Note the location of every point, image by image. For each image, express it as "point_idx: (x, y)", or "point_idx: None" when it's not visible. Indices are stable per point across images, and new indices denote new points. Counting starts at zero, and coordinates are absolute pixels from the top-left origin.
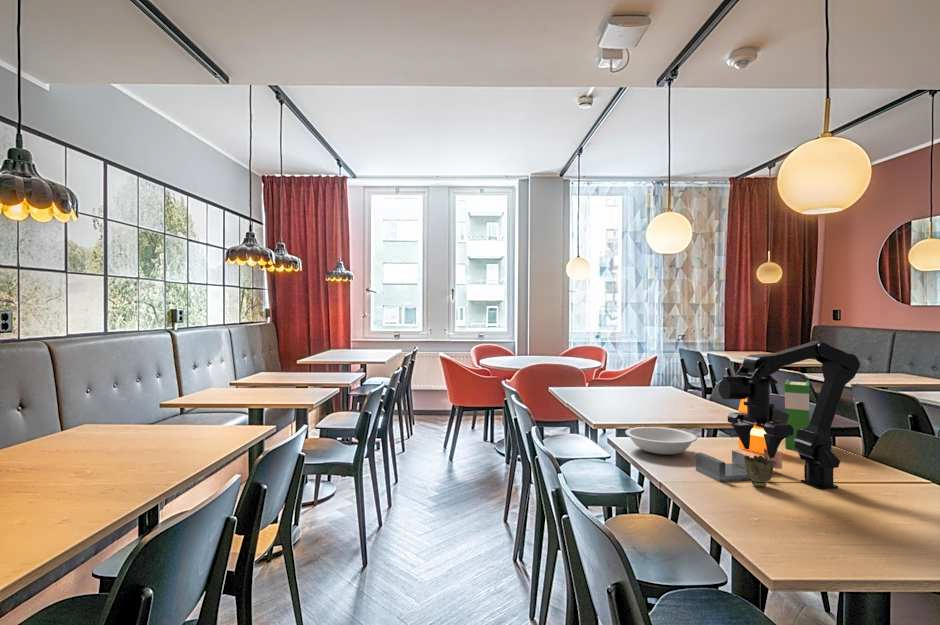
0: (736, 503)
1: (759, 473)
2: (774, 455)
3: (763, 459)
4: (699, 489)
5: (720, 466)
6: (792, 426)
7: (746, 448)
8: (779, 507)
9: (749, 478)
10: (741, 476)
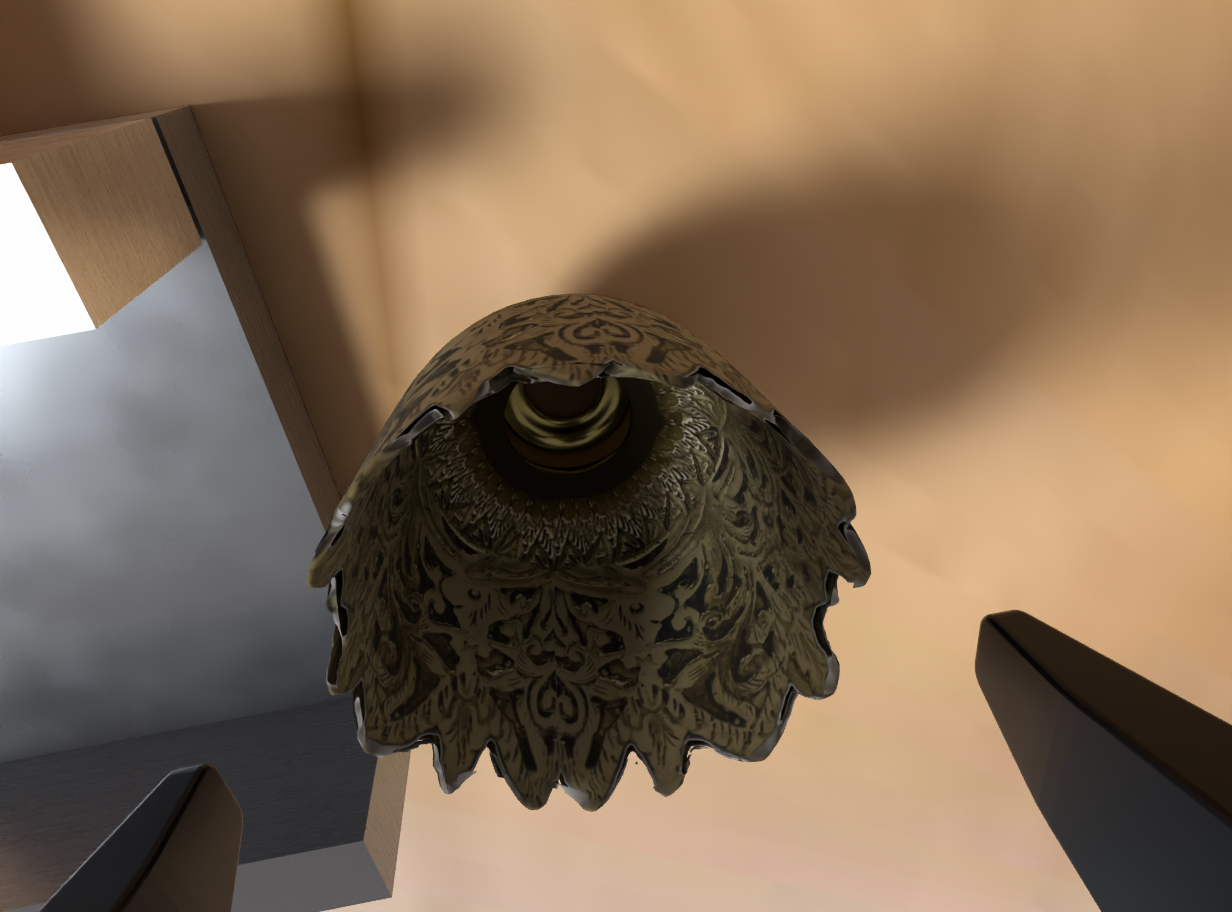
0: (959, 758)
1: (741, 566)
2: (1072, 647)
3: (420, 428)
4: (639, 874)
5: (393, 839)
6: None
7: (233, 829)
8: (1138, 513)
9: (283, 370)
10: (322, 500)
